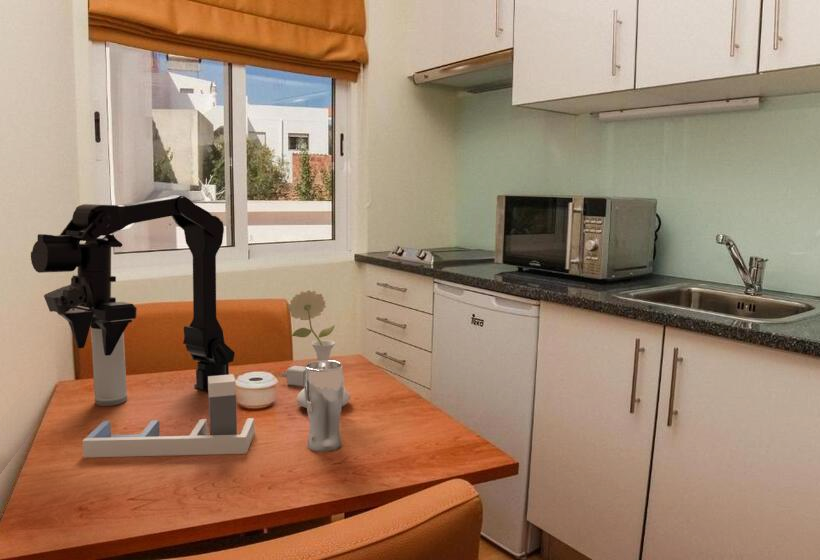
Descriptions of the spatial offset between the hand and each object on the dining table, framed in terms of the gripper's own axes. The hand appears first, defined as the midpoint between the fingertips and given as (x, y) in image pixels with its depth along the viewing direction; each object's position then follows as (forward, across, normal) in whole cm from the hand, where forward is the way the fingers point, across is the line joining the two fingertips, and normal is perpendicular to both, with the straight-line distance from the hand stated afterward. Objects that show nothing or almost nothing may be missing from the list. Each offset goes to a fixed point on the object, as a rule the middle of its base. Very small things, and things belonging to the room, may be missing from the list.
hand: (94, 351), depth 121 cm
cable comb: (+14, +20, +3) cm, 25 cm away
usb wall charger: (+12, +13, +42) cm, 45 cm away
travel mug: (+14, -10, +10) cm, 20 cm away
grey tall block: (+14, +27, +8) cm, 32 cm away
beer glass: (+13, +43, +18) cm, 49 cm away
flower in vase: (+12, +28, +33) cm, 46 cm away
